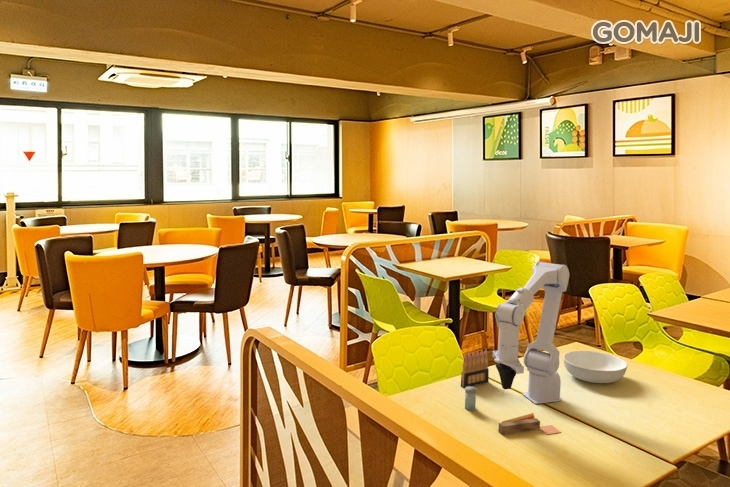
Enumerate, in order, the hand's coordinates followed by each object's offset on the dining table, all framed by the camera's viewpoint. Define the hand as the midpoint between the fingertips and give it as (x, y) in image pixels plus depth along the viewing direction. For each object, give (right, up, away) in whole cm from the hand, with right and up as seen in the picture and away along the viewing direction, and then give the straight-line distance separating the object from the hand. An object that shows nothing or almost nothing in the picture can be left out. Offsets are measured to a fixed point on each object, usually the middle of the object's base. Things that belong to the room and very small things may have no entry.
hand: (506, 388), depth 168 cm
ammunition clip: (-4, -6, +27) cm, 28 cm away
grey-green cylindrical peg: (-9, -8, +8) cm, 15 cm away
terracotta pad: (+11, -10, -6) cm, 16 cm away
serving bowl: (+39, -5, +33) cm, 51 cm away
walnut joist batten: (+2, -10, -6) cm, 12 cm away
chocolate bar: (+3, -10, -1) cm, 11 cm away
